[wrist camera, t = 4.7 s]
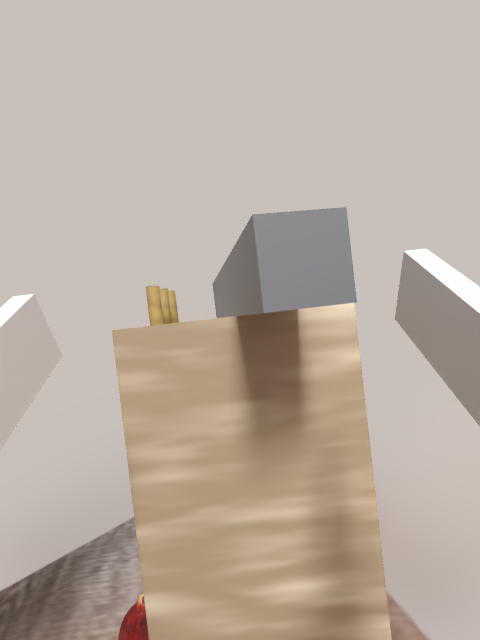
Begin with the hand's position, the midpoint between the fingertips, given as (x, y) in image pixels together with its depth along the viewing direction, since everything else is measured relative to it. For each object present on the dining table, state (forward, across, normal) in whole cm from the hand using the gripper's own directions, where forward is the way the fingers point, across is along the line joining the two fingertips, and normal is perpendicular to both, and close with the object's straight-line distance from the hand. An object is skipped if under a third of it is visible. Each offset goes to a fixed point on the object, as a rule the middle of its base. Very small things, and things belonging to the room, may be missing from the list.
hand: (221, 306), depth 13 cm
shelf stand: (-4, 0, +42) cm, 42 cm away
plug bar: (+13, -1, +8) cm, 15 cm away
